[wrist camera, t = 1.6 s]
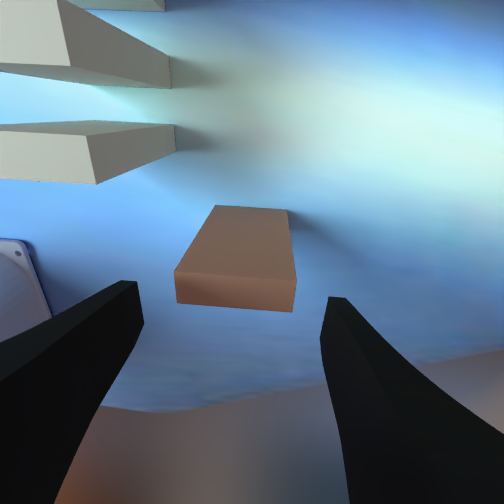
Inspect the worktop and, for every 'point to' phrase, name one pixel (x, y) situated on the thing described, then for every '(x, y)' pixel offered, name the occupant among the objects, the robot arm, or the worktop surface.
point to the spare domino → (239, 261)
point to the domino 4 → (121, 5)
